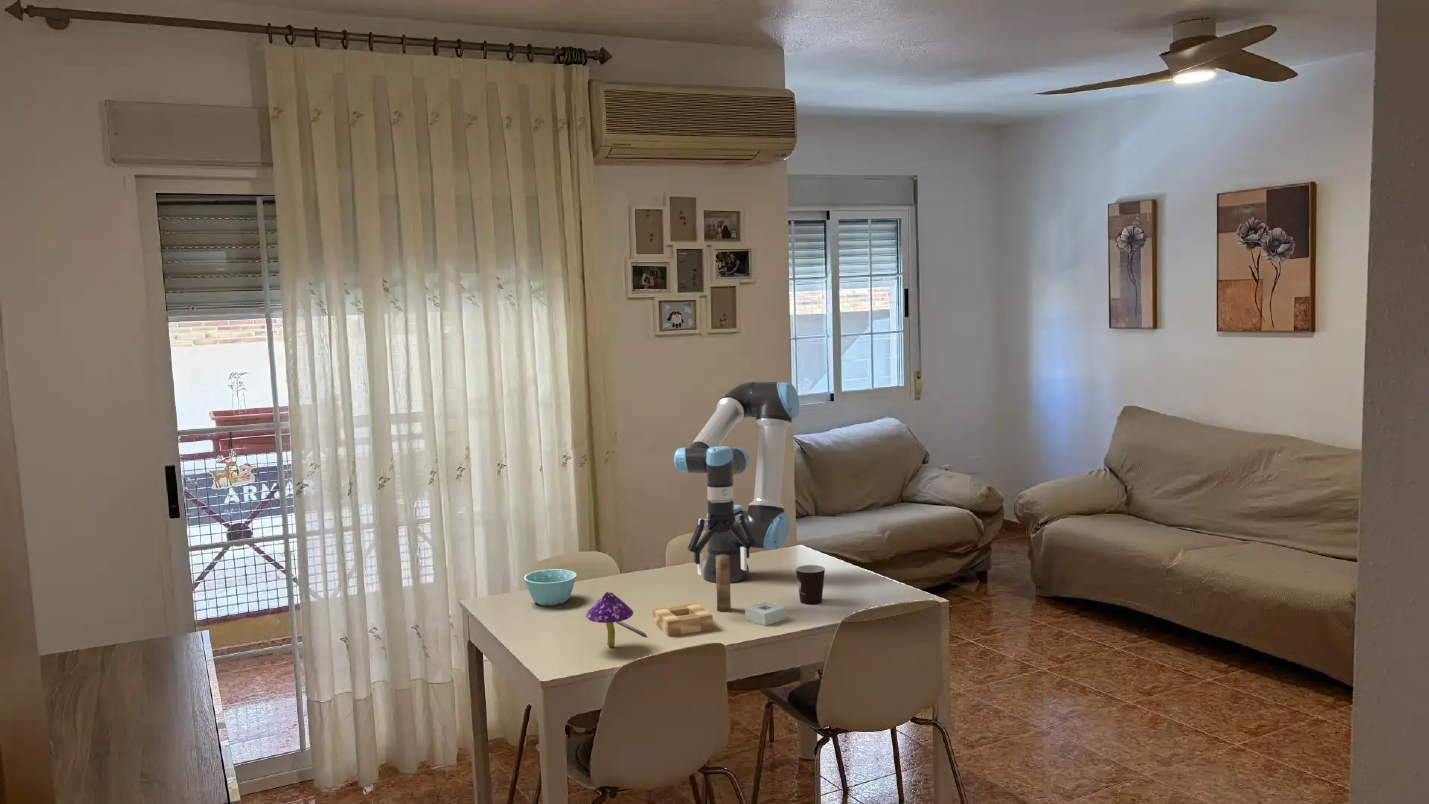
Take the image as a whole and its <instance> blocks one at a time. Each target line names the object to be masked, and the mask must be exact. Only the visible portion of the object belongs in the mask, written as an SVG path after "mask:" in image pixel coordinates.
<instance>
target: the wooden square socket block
mask: <svg viewBox="0 0 1429 804" xmlns="http://www.w3.org/2000/svg"><path fill="white" fill-rule="evenodd" d="M652 616H653V617H652V618H653V624H654V625H655V626H656V627H658V628H659V629H660V630H661V631H662V632H663V633H664V634H665V635H667V636H668V637H672V636H678V635H684V634H691V633H697V632H698V633H699V632H704V631H710V630H713V629H714V623H713V622H714V621H713V620H714V619H713V614H711V613H710V612H709V611H707V610H706V609H705V608H704V607H703V606H701V605H699V604H698V603H697V602H694V603H693V602H692V603H687V604H679V605H673V606H667V607H659V608H653V609H652Z"/></svg>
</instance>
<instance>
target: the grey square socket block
mask: <svg viewBox="0 0 1429 804" xmlns="http://www.w3.org/2000/svg"><path fill="white" fill-rule="evenodd" d="M744 613H745V616H744V617H745V618H744V619H745V621H748V622H752V623H755V624H757V625H761V626H764V627H767V626H769V625H772V624H774V623H775V624H776V623H778V622H781V621H784V620H786V607H784V606H781V605H778V604H774V603H771V602H767V601H765V602H764V601H763V602H761V603H758V604H753V605H750V606H747V607H745V608H744Z"/></svg>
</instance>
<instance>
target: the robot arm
mask: <svg viewBox="0 0 1429 804" xmlns="http://www.w3.org/2000/svg"><path fill="white" fill-rule="evenodd" d="M715 409H716V410H715V412H713V414H712V415H711V417H710V418H709V419H708V421H707V422H706V423H705V425H704V426H703V428H701V431H700V432H699V433H698V434H697V436H696V437H695V439H693V441H692V443H691V444H690V445H689V446H688V447H685V446H684V447H679V448H677V449H676V451H675V452H674V457H673V464H674V467H675V470H676V471H677V472H679V473H685V474H706V479H707V481H706V482H707V489H706V491H707V500H708V501H707V512H706V518H701V517H698V518H697V523H696V524H697V525H696V527H695V529H694V532H693V534H692V537H691V539H690V541H689V544H688V546H687V550H688V551H689V552H691V553H693V556H694V557H693V558H694V559H693V560H694V563H695V565H697V566H696V567H697V575H698V576H700V577H703V580H705V581H707V582H712V583H716V556H717V555H729V564H730V583H737V582H742V581H745V580H747V579H749V578H750V576H751V575H750V567H749V565H748V562H747V561H748V560H747V559H749V558H750V548H751V549H764V550H777V549H780V548H782V547H783V546H784V545H785V543H786V541H787V539H788V537H789V532H790V527H791V522H790V521H791V519H790V515H789V514H788V513H786V512H785V506H784V504H782V502H781V501H782V499H781V498H782V486H783V485H782V484H783V474H784V473H783V472H784V461H785V449H786V448H785V447H786V438H787V437H786V436H787V429H788V428H789V427H790V426H792V422H793V421H792V420H794V419H797V417H798V416H799V413H800V400H799V396H798V392H797V389H796V387H795V386H794V385H793V384H792V383H790V382H783V381H758V382H755V381H748V382H744V383H741V384H738V385H737V386H735V387H733V388H732V389H730V390H728V391H727V392H726V393H725V394H724V395H723V396H721V398H720V399H719V401H718V402H717V404H716V408H715ZM744 418H745V419H746V418H756V419H755V422H756V424H757V425H758V426H759V434H758V435H759V436H758V446H757V459H756V467H755V469H756V471H755V482H754V493H753V500H752V501H750V503H749V504H748V507H747V508H748V509H747V510H744V508H743V506H742V505H741V504H734V501H733V499H734V476H736V475H739V474H741V473H743V472H744V471H746V470H747V469H748V467H749V466H750V463H751V461H750V456H749V453H748V452H747V451H746V450H745V449H743V448H741V447H730V446H727V445H726V446H724V445H723V446H722V443H723V442H724V441H725V439H726V438H727V436H728V435H729V433H730V432H731V430H732V429H733V428H734V426H735V425H736V424H739V423H741V421H742V420H743V419H744ZM705 527H706V529H705V530H706V531H705V532H704V534H703V535H702V533H703V531H704V528H705ZM701 536H702V537H701ZM706 545H707V556H706V559H705V563H704V554H703V553H702V551H703V549H704V548H705V546H706Z"/></svg>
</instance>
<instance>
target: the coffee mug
mask: <svg viewBox="0 0 1429 804" xmlns="http://www.w3.org/2000/svg"><path fill="white" fill-rule="evenodd" d="M825 570H826V568H825V567H824V566H823V565H822V566H821V565H817V564H805V565H798V566H796V567H795V574H796V581H797V588H798V594H799V602H800V603H801V604H802V605H811V606H814V605H819V604H822V602H823V593H824V580H825Z"/></svg>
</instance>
